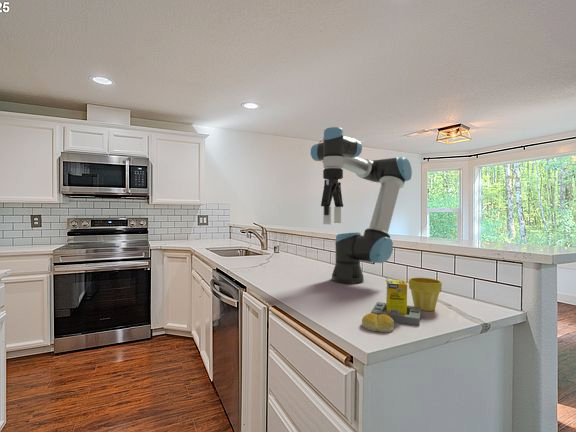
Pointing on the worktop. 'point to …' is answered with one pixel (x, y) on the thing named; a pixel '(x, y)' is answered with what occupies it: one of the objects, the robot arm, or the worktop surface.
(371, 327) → the bread roll
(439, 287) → the plant pot
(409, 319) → the socket plate
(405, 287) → the supplement box
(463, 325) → the worktop surface
